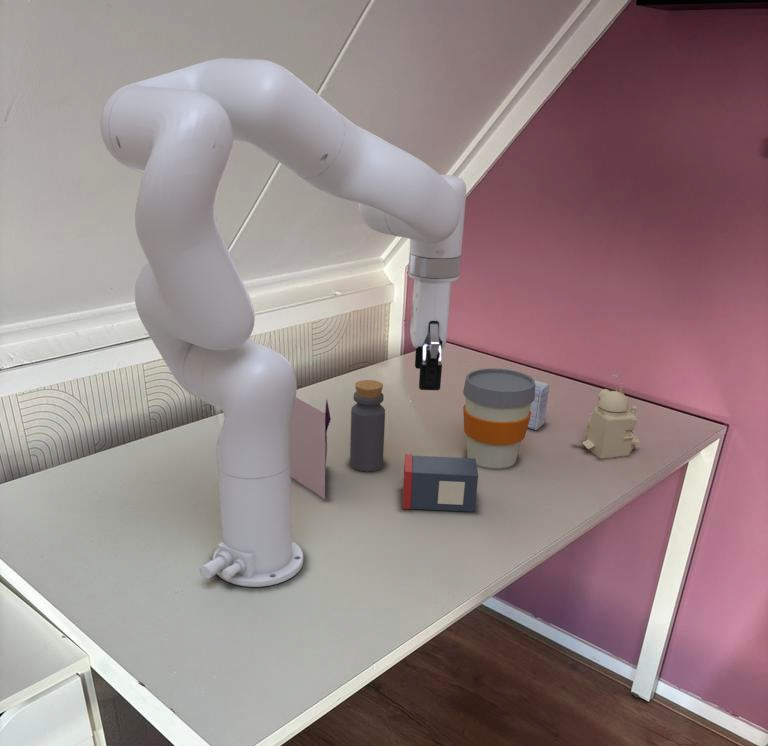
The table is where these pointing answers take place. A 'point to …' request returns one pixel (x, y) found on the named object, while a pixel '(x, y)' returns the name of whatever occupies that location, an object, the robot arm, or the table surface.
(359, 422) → the bottle
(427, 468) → the red-lidded grey box
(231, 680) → the table surface
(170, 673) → the table surface
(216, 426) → the table surface
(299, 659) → the table surface
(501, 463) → the reusable coffee cup
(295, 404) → the greeting card
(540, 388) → the medicine box
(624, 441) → the robot
